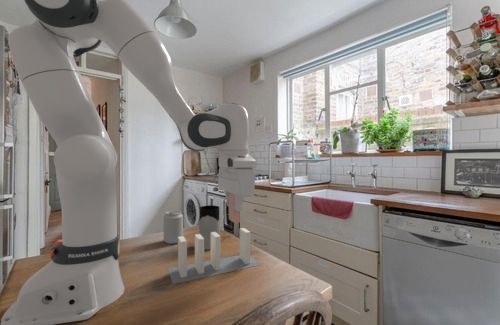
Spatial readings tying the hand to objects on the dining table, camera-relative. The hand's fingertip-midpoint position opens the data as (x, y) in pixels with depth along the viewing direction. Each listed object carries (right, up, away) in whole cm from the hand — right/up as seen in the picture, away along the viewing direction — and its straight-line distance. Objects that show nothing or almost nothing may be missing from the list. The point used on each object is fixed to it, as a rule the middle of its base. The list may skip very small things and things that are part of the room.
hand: (233, 208), depth 70 cm
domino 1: (-15, -19, 0) cm, 24 cm away
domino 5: (+3, -19, +9) cm, 21 cm away
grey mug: (-11, -19, +25) cm, 33 cm away
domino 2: (-10, -19, +2) cm, 22 cm away
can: (-26, -19, +28) cm, 43 cm away
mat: (-6, -19, +4) cm, 21 cm away
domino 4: (0, -4, 0) cm, 4 cm away
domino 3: (-6, -19, +4) cm, 20 cm away
